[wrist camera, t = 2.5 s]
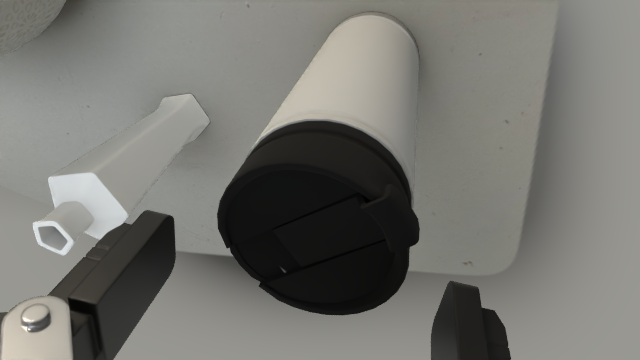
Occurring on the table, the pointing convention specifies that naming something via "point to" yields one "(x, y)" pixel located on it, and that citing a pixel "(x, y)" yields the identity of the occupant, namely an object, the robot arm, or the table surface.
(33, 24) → the planter
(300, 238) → the travel mug
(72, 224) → the perfume bottle
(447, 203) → the table surface
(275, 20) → the table surface
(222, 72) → the table surface
